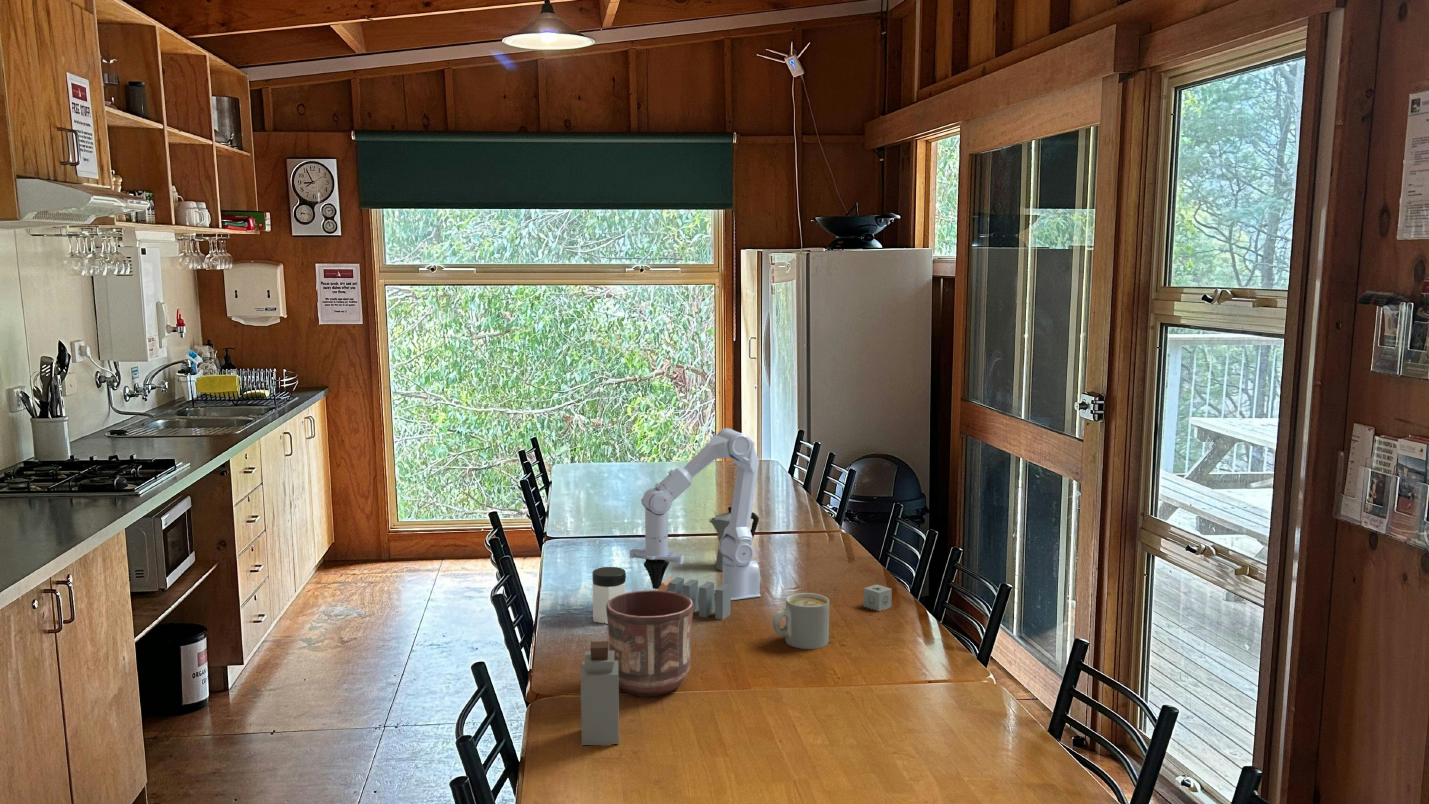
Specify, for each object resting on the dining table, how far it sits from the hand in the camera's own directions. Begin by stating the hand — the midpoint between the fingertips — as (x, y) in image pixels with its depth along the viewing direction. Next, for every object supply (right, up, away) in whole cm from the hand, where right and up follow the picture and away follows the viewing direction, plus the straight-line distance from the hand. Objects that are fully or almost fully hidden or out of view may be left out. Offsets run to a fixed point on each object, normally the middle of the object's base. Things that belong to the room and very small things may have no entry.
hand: (656, 587), depth 265 cm
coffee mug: (+35, -9, -23) cm, 43 cm away
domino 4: (+13, -6, -5) cm, 15 cm away
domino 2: (+5, -5, -1) cm, 7 cm away
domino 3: (+9, -5, -3) cm, 11 cm away
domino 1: (0, -4, +1) cm, 4 cm away
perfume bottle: (-6, -15, -71) cm, 73 cm away
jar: (-11, -6, -8) cm, 15 cm away
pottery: (+1, -12, -48) cm, 49 cm away
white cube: (+56, -5, +1) cm, 57 cm away
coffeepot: (+20, 0, +34) cm, 40 cm away
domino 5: (+17, -6, -7) cm, 19 cm away
